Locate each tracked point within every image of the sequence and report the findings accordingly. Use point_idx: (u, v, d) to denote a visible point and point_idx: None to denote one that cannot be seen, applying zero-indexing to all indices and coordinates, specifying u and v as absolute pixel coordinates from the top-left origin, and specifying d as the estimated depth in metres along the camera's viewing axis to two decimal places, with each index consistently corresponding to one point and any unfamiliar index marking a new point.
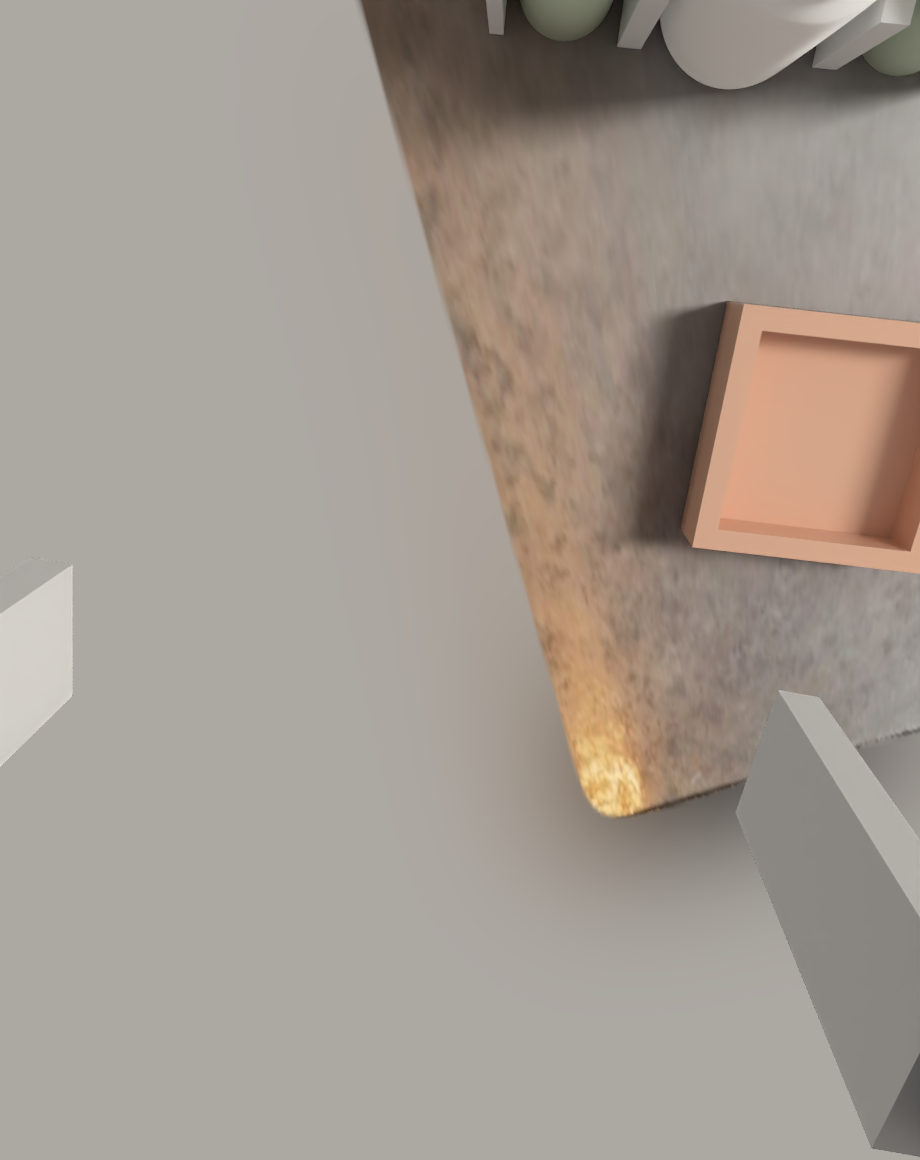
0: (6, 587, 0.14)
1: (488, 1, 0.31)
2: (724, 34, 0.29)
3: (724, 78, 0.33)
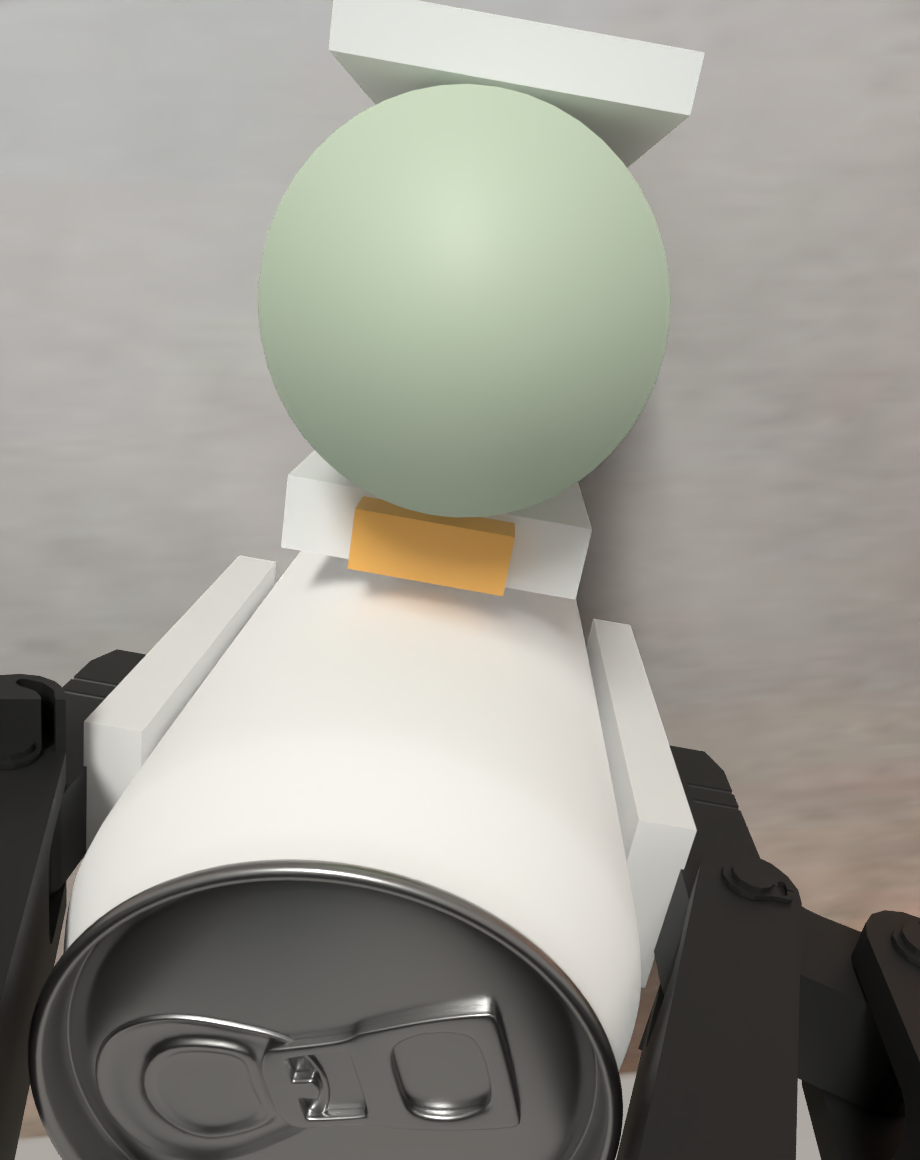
0: (234, 582, 0.15)
1: None
2: None
3: None
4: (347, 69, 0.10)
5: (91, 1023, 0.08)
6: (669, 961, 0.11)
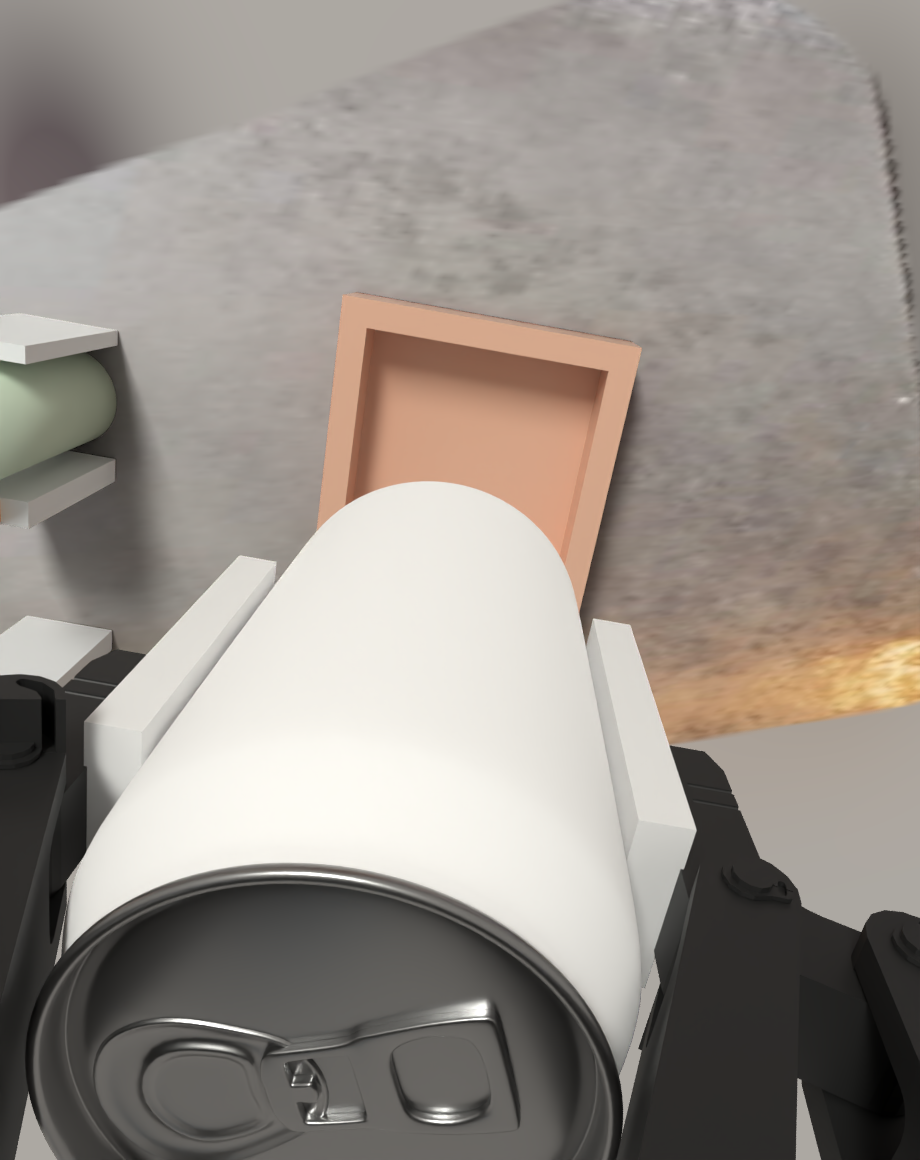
0: (234, 582, 0.15)
1: None
2: None
3: None
4: None
5: (88, 1027, 0.08)
6: (669, 961, 0.11)
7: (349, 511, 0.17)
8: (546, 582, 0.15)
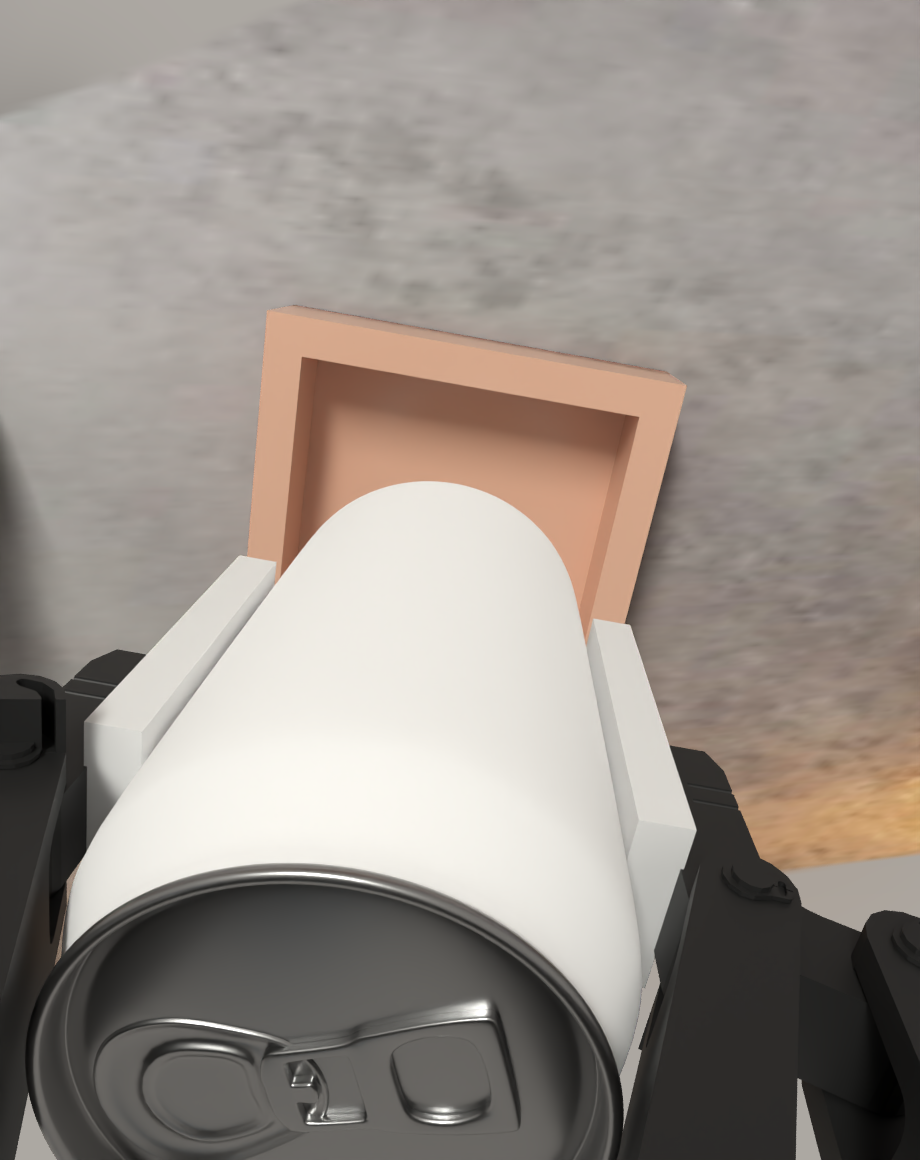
0: (234, 582, 0.15)
1: None
2: None
3: None
4: None
5: (89, 1027, 0.08)
6: (669, 961, 0.11)
7: (349, 511, 0.16)
8: (546, 582, 0.15)
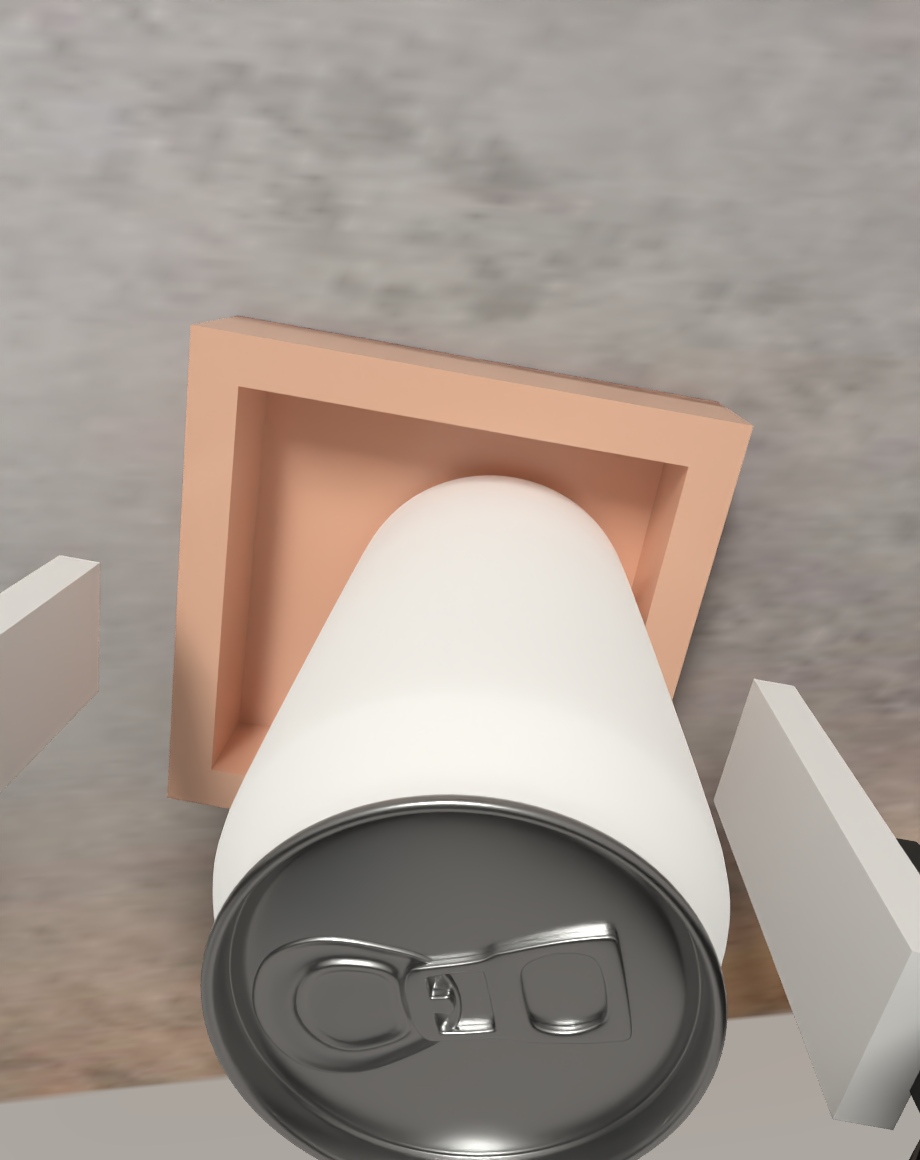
0: (37, 585, 0.14)
1: None
2: None
3: None
4: None
5: (253, 945, 0.09)
6: None
7: (421, 502, 0.18)
8: (612, 569, 0.16)
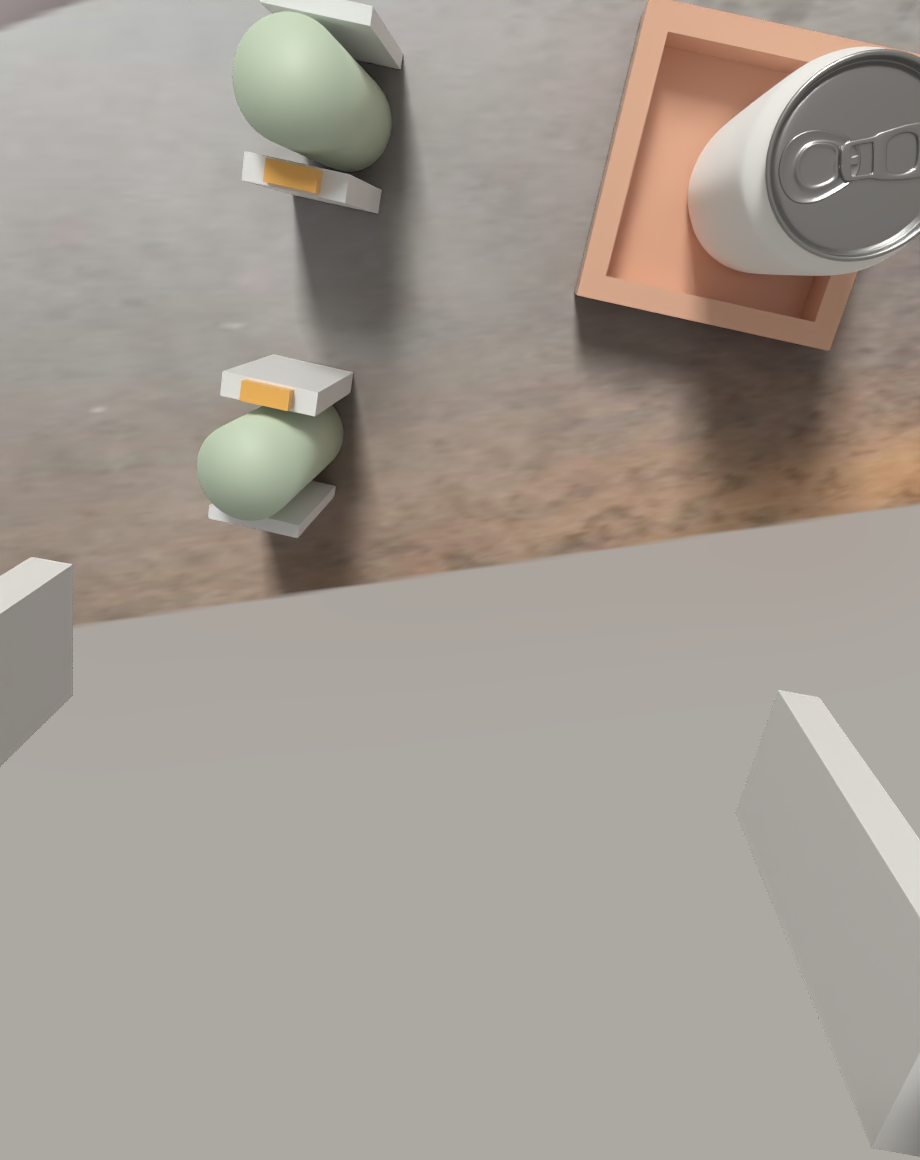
0: (6, 587, 0.14)
1: (311, 520, 0.39)
2: None
3: None
4: (268, 9, 0.30)
5: (785, 135, 0.25)
6: None
7: None
8: None
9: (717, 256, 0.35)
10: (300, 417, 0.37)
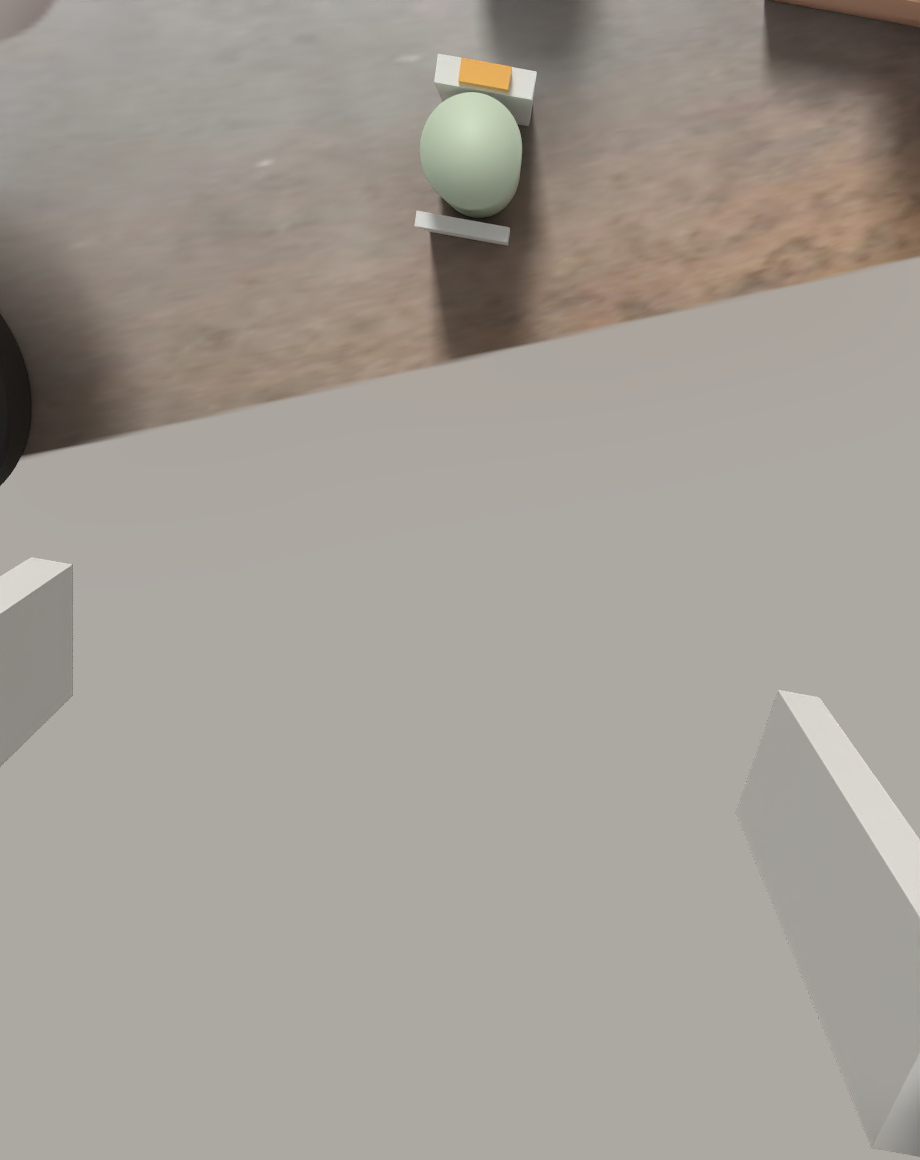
0: (5, 587, 0.14)
1: None
2: None
3: None
4: None
5: None
6: None
7: None
8: None
9: None
10: None
